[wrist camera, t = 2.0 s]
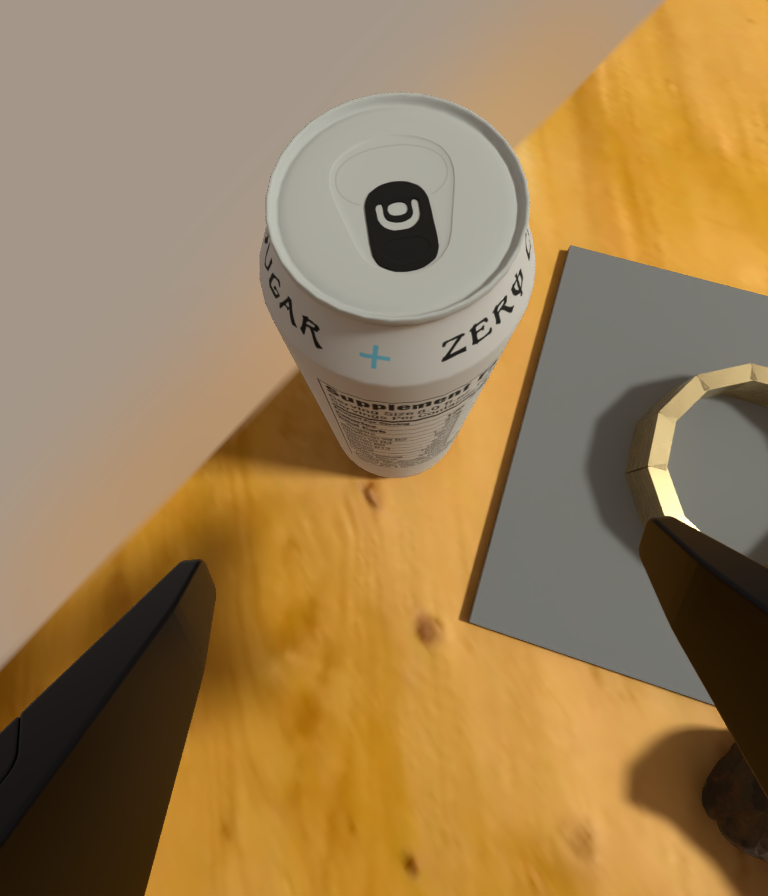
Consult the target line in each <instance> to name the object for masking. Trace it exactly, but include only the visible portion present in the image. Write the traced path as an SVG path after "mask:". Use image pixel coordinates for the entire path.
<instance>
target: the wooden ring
mask: <svg viewBox="0 0 768 896" xmlns="http://www.w3.org/2000/svg"><path fill="white" fill-rule="evenodd" d="M720 395H724V396H728V397H732V398H735V399H739V400H742V401H746V402H749V403H753V404H757V405H760V406H764V407H767V408H768V367H764V366H760V365H757V364H753V363H752V364H751V363H750V364H745V365H740V366H736V367H731V368H726V369H722V370H717V371H712V372H708V373H703V374H699V375H696V376H694V377H693V378H691V379H689V380H687V381H686V382H684V383H682V384H680V385H679V386H677V387H675V388H673V389H672V390H670V391H669V392H668V393H667V394H666V395H665V396H664V397H663V398H662V399H661V400H660V401H659V402H658V403H657V404H656V405H654V406H653V407H652V408H651V409H650V410H649V411H648V412H647V413H646V414H645V415H644V416H643V417H642V418H641V419H640V420H639V421H638V422H637V423H636V425H635V429H634V434H633V438H632V443H631V448H630V452H629V457H628V461H627V466H626V471H625V473H627V474H625V476H626V479H627V482H628V485H629V488H630V491H631V494H632V497H633V500H634V503H635V506H636V509H637V512H638V515H639V518H640V521H641V524H642V527H643V526H645V524H646V522H647V520H648V519H649V518H651V517H660V516H672V517H674V518H676V519H678V520H680V521H682V522H684V523H686V524H687V525H689V526H691V527H693V528H695V529H697V528H696V527H695V526H694V525H693V524H692V523H691V522H690V521H689V520H688V519H687V518H686V517H685V516H684V513H683V511H682V508H681V505H680V502H679V499H678V496H677V494H676V491H675V488H674V485H673V482H672V480H671V477H670V474H669V471H668V468H667V465H668V460H669V455H670V450H671V445H672V440H673V435H674V430H675V425H676V421H677V420H678V419H679V418H680V417H681V416H682V415H683V414H684V413H685V412H686V411H687V410H688V409H689V408H690V407H691V406H692V405H693V404H694V403H695V402H696V401H697V400H702V399H706V398H711V397H715V396H720ZM697 530H699V529H697ZM699 531H700V530H699ZM700 532H701V531H700ZM763 566H765V567H767V568H768V563H767V564H763Z"/></svg>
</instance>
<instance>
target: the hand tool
mask: <svg viewBox="0 0 768 896" xmlns="http://www.w3.org/2000/svg"><path fill="white" fill-rule="evenodd" d="M702 803H703V807H704V809H705V811H706V813H707V814H708V816H709V817H710V818H712V819H714V820H715V821H716V822H717V824H718V827H719V829H720V831H721V833H722V835H723V836H724V837H725V838H726V839H727V840H728V841H729V842H730V843H731V844H732V845H734V846H735V847H737V848H738V849H740V850H742V851H743V852H745V853H747V854H749V855H752V856H754V857H757V858H759V859H761V860H764V861H766V862H768V798H767V796H766V794H765V793H764V791H763V789H762V787H761V786H760V784H759V782H758V780H757V779H756V777H755V775H754V773H753V772H752V770H751V768H750V766H749V765H748V763H747V761H746V759H745V758H744V756H743V754H742V752H741V751H740V749H739V747H738V745H737V743H736V742H735V743H734V744H733V746H732V747H731V749H730V750H729V752H728V753H727V754H726V755H725V756H724V757H723V758H722V759H721V760H720V761H719V762H718V763H717V764H716V765H715V767H714V769H713V770H712V772H711V774H710V775H709V777H708V779H707V781H706V784H705V787H704V789H703V792H702Z"/></svg>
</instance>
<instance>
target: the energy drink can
mask: <svg viewBox="0 0 768 896" xmlns="http://www.w3.org/2000/svg"><path fill="white" fill-rule="evenodd" d="M529 210H530V199H529V192H528V185H527V179H526V177H525V174H524V172H523V169H522V167H521V164H520V161H519V159H518V157H517V156H516V154H515V153H514V151H513V150H512V148H511V147H510V145H509V144H508V142H507V141H506V139H505V138H504V137H503V136H502V135H501V134H500V133H499V132H498V131H497V130H496V129H495V128H494V127H493V126H491V124H490V123H488V122H487V121H485V120H484V119H483V118H481V117H480V116H478V115H477V114H475V113H474V112H472V111H471V110H469V109H467V108H464V107H462V106H460V105H458V104H455V103H453V102H451V101H448V100H445V99H441V98H437V97H433V96H429V95H425V94H414V93H403V92H398V93H384V94H375V95H370V96H366V97H362V98H357V99H353V100H351V101H348V102H346V103H343V104H341V105H338V106H336V107H334V108H331V109H330V110H328V111H326V112H325V113H323V114H322V115H320V116H318V117H317V118H315V119H314V120H312V121H311V122H310V123H309V124H307V125H306V126H305V127H304V128H303V129H302V130H301V131H300V132H299V133H298V134H296V135H295V136H294V137H293V139H292V140H291V141H290V143H289V144H288V145H287V147H286V148H285V150H284V151H283V152H282V154H281V155H280V157H279V159H278V161H277V164H276V165H275V168H274V170H273V172H272V174H271V176H270V181H269V185H268V190H267V194H266V224H267V226H266V229H265V234H264V238H263V242H262V247H261V252H260V282H261V287H262V291H263V295H264V300H265V304H266V306H267V308H268V310H269V312H270V314H271V316H272V319H273V320H274V323H275V325H276V326H277V329H278V331H279V332H280V334H281V336H282V338H283V340H284V342H285V344H286V345H287V347H288V349H289V351H290V353H291V355H292V356H293V358H294V360H295V362H296V364H297V366H298V368H299V370H300V371H301V373H302V375H303V377H304V379H305V381H306V383H307V384H308V386H309V388H310V390H311V392H312V394H313V396H314V398H315V399H316V401H317V403H318V405H319V407H320V409H321V411H322V412H323V414H324V416H325V418H326V420H327V422H328V424H329V425H330V427H331V429H332V431H333V433H334V435H335V437H336V438H337V440H338V442H339V444H340V446H341V448H342V449H343V451H344V452H345V453H346V455H347V456H348V457H349V458H350V459H351V460H352V461H353V462H354V463H355V464H356V465H358V466H359V467H361V468H362V469H364V470H366V471H368V472H369V473H372V474H375V475H378V476H381V477H389V478H403V477H409V476H413V475H417V474H420V473H422V472H424V471H426V470H428V469H430V468H431V467H432V466H434V465H435V464H436V463H438V462H439V461H440V460H441V459H442V458H443V456H444V455H445V454H446V453H447V452H448V450H449V448H450V447H451V445H452V443H453V441H454V439H455V438H456V436H457V434H458V432H459V430H460V429H461V427H462V425H463V423H464V421H465V419H466V418H467V416H468V414H469V412H470V410H471V409H472V407H473V405H474V403H475V401H476V400H477V398H478V396H479V394H480V392H481V390H482V389H483V387H484V385H485V383H486V381H487V380H488V378H489V376H490V374H491V372H492V370H493V369H494V367H495V365H496V363H497V361H498V360H499V358H500V356H501V354H502V352H503V351H504V349H505V347H506V345H507V343H508V341H509V340H510V338H511V336H512V334H513V332H514V331H515V329H516V327H517V325H518V323H519V321H520V320H521V318H522V316H523V314H524V312H525V311H526V309H527V305H528V302H529V299H530V296H531V292H532V289H533V286H534V276H535V262H536V260H535V253H534V246H533V239H532V234H531V231H530V228H529V226H528V222H529Z"/></svg>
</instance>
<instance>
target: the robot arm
mask: <svg viewBox="0 0 768 896" xmlns="http://www.w3.org/2000/svg"><path fill="white" fill-rule="evenodd" d="M639 556H640V559H641V561H642V564H643V566H644V568H645V571H646V573H647V575H648V577H649V580H650V582H651V584H652V587H653V589H654V591H655V593H656V596H657V598H658V600H659V603H660V605H661V607H662V609H663V612H664V614H665V616H666V618H667V620H668V623H669V625H670V627H671V629H672V631H673V632H674V634H675V636H676V638H677V640H678V642H679V643H680V645H681V647H682V649H683V650H684V652H685V654H686V656H687V657H688V659H689V661H690V663H691V664H692V666H693V668H694V670H695V671H696V673H697V675H698V677H699V678H700V680H701V682H702V684H703V685H704V687H705V689H706V691H707V693H708V694H709V696H710V698H711V700H712V701H713V703H714V705H715V707H716V708H717V710H718V712H719V714H720V715H721V717H722V719H723V721H724V722H725V724H726V726H727V728H728V729H729V731H730V733H731V735H732V736H733V738H734V740H735V742H736V743H737V745H738V747H739V749H740V751H741V752H742V754H743V756H744V758H745V759H746V761H747V763H748V765H749V766H750V768H751V770H752V772H753V773H754V775H755V777H756V779H757V780H758V782H759V784H760V786H761V787H762V789H763V791H764V793H765V794H766V796H767V798H768V568H767V567H765V566H763V565H761V564H760V563H758V562H756V561H754V560H752V559H750V558H748V557H747V556H745V555H743V554H741V553H739V552H737V551H735V550H734V549H732V548H730V547H728V546H726V545H724V544H723V543H721V542H719V541H717V540H715V539H713V538H711V537H710V536H708V535H706V534H704V533H702V532H700V531H699V530H697V529H695V528H693V527H691V526H689V525H687V524H686V523H684V522H682V521H680V520H678V519H676V518H674V517H672V516H660V517H651V518H649V519H648V520H647V522H646V524H645V527H644V531H643V534H642V537H641V540H640V544H639ZM215 599H216V589H215V585H214V582H213V580H212V578H211V575H210V573H209V570H208V568H207V566H206V564H205V562H204V561H203V560H201V559H196V560H185V561H182V562H180V563H179V564H178V565H177V566H176V567H175V568H173V569H172V570H171V571H170V572H169V573H168V574H167V575H166V576H165V577H164V578H163V579H162V580H161V581H160V582H159V583H158V584H157V585H156V586H155V587H153V588H152V589H151V590H150V591H149V592H148V593H147V594H146V595H145V596H144V597H143V598H142V599H141V600H140V601H139V602H138V603H137V604H136V605H135V606H133V607H132V608H131V609H130V610H129V611H128V612H127V613H126V614H125V615H124V616H123V617H122V618H121V619H120V620H119V621H118V622H117V623H116V624H115V625H113V626H112V627H111V628H110V629H109V630H108V631H107V632H106V633H105V634H104V635H103V636H102V637H101V638H100V639H99V640H98V641H97V642H96V643H95V644H93V645H92V646H91V647H90V648H89V649H88V650H87V651H86V652H85V653H84V654H83V655H82V656H81V657H80V658H79V659H78V660H77V661H76V662H75V663H73V664H72V665H71V666H70V667H69V668H68V669H67V670H66V671H65V672H64V673H63V674H62V675H61V676H60V677H59V678H58V679H57V680H56V681H55V682H53V683H52V684H51V685H50V686H49V687H48V688H47V689H46V690H45V691H44V692H43V693H42V694H41V695H40V696H39V697H38V698H37V699H36V700H35V701H33V702H32V703H31V704H30V705H29V706H28V707H27V708H26V709H25V710H24V711H23V712H22V713H21V716H20V717H17V718H15V719H14V720H13V721H12V722H11V723H10V724H9V725H8V726H7V727H6V728H5V729H4V730H3V731H2V732H1V733H0V896H144V895H145V891H146V888H147V884H148V880H149V877H150V873H151V869H152V865H153V862H154V858H155V854H156V850H157V847H158V843H159V839H160V835H161V832H162V828H163V824H164V820H165V817H166V813H167V809H168V805H169V802H170V798H171V794H172V790H173V787H174V783H175V779H176V776H177V772H178V768H179V764H180V761H181V757H182V753H183V749H184V746H185V742H186V738H187V734H188V731H189V727H190V723H191V719H192V716H193V712H194V708H195V704H196V701H197V697H198V693H199V689H200V686H201V682H202V678H203V674H204V669H205V664H206V658H207V651H208V645H209V638H210V632H211V625H212V619H213V612H214V606H215Z"/></svg>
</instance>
